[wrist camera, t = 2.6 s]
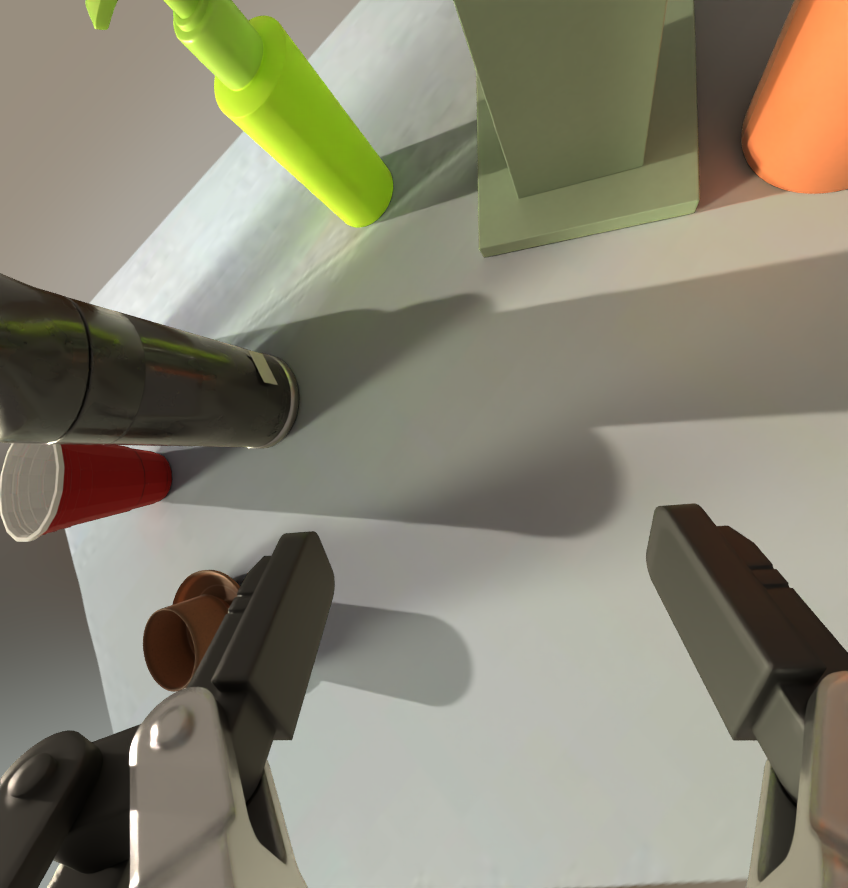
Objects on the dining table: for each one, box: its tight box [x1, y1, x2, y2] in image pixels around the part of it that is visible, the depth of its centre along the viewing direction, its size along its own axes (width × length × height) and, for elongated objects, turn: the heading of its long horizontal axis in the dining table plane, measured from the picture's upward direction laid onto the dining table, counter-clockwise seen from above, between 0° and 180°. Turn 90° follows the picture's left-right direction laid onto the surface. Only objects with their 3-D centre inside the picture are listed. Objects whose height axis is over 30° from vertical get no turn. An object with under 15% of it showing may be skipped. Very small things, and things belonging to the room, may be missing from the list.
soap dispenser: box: [86, 0, 393, 227], centre depth 27 cm, size 6×7×20 cm
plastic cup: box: [0, 443, 172, 542], centre depth 42 cm, size 11×11×12 cm
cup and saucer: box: [143, 570, 240, 692], centre depth 39 cm, size 12×12×6 cm
